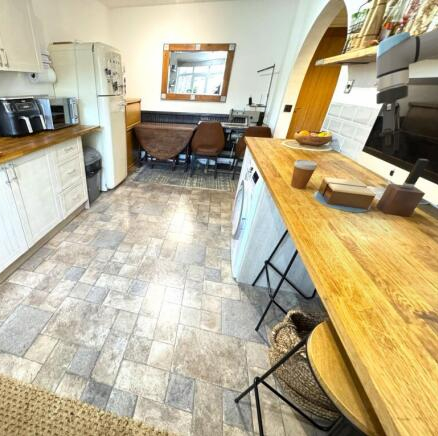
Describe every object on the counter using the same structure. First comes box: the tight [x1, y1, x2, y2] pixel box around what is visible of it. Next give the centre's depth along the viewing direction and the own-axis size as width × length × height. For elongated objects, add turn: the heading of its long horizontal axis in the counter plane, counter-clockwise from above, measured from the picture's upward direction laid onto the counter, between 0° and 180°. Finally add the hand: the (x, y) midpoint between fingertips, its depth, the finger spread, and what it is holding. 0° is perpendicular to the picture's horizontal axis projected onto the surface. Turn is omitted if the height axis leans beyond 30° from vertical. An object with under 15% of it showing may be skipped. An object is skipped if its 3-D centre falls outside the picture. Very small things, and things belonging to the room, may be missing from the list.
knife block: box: [376, 183, 426, 218], centre depth 93 cm, size 8×7×10 cm
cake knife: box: [401, 158, 430, 189], centre depth 90 cm, size 3×2×21 cm, turn 71°
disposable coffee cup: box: [290, 159, 318, 190], centre depth 113 cm, size 10×10×12 cm
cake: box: [313, 176, 377, 214], centre depth 101 cm, size 20×20×8 cm
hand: (390, 152), depth 84 cm, fingers open, 13 cm apart
